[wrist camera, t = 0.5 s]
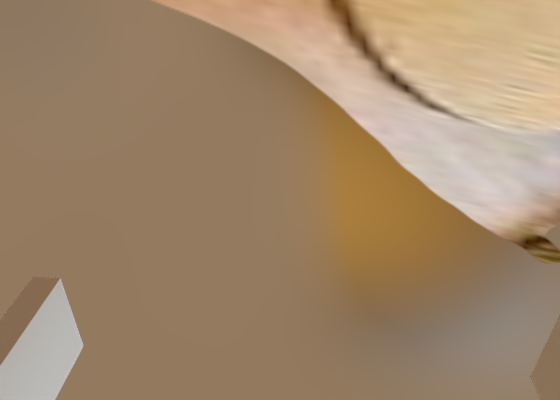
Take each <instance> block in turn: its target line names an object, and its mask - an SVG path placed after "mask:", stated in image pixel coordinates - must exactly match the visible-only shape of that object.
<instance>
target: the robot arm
mask: <svg viewBox="0 0 560 400" xmlns="http://www.w3.org/2000/svg"><path fill="white" fill-rule="evenodd" d="M82 348H83V344H82V340H81V338H80V335H79V332H78V329H77V326H76V323H75V320H74V317H73V314H72V311H71V308H70V305H69V302H68V299H67V296H66V293H65V291H64V287H63V285H62V281H61V278H49V277H32V279H31V280H30V281H29V283H28V284H27V285H26V286H25V288H24V289H23V291H22V292H21V293H20V295H19V296H18V297H17V298H16V300H15V301H14V302H13V304H12V305H11V306H10V307H9V309H8V310H7V311H6V313H5V314H4V315H3V317H2V318H1V320H0V400H55V398H56V397H57V395H58V393H59V391H60V389H61V387H62V385H63V383H64V381H65V379H66V378H67V376H68V374H69V372H70V370H71V368H72V366H73V365H74V363H75V361H76V359H77V357H78V355H79V353H80V351H81V349H82ZM530 377H531V380H532V382H533V384H534V386H535V389H536V391H537V393H538V396H539V398H540V400H560V316H559V318H558V320H557V322H556V324H555V326H554V328H553V330H552V332H551V334H550V336H549V338H548V341H547V343H546V345H545V347H544V349H543V351H542V353H541V355H540V357H539V359H538V361H537V363H536V365H535V368H534V370H533V372H532V374H531V376H530Z"/></svg>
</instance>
